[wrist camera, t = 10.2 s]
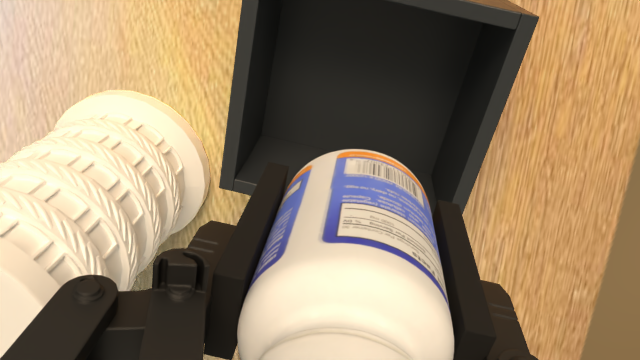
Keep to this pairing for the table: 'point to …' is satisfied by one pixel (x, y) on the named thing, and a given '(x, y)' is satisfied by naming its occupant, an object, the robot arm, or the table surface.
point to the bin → (372, 86)
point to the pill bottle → (349, 268)
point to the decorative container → (94, 200)
